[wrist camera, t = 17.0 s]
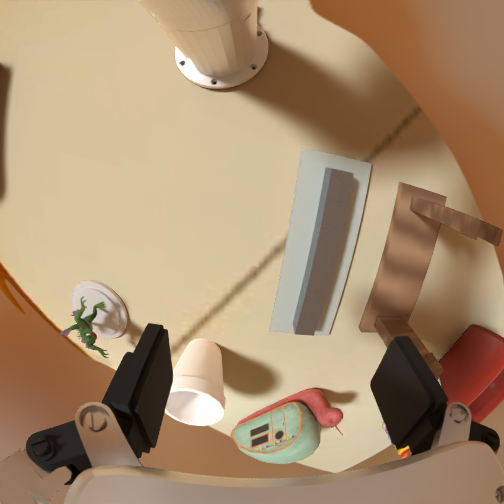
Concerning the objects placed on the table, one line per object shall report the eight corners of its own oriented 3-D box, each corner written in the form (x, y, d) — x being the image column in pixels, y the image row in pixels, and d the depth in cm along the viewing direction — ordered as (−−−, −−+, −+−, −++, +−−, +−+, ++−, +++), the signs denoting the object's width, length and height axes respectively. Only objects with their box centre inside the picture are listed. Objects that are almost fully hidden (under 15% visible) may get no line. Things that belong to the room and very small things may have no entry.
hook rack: (399, 182, 35) (470, 202, 20) (441, 195, 35) (510, 220, 20) (358, 327, 43) (392, 393, 28) (399, 328, 44) (438, 386, 29)
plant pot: (419, 369, 48) (451, 421, 32) (475, 305, 43) (520, 348, 27) (448, 387, 52) (474, 428, 36) (494, 335, 46) (528, 371, 30)
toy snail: (249, 433, 55) (248, 480, 42) (227, 420, 53) (222, 470, 40) (341, 388, 49) (357, 440, 36) (323, 371, 47) (338, 428, 34)
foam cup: (194, 322, 43) (177, 378, 31) (240, 349, 45) (237, 407, 33) (169, 353, 46) (149, 407, 33) (211, 377, 47) (202, 431, 35)
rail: (325, 167, 34) (331, 168, 31) (346, 171, 34) (353, 173, 31) (292, 322, 42) (294, 334, 39) (310, 324, 42) (313, 335, 39)
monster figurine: (136, 336, 45) (115, 374, 35) (87, 334, 45) (63, 366, 35) (115, 277, 41) (85, 309, 31) (65, 281, 41) (33, 308, 31)
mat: (301, 148, 34) (302, 148, 33) (369, 163, 34) (371, 163, 33) (269, 328, 43) (269, 331, 42) (327, 332, 44) (328, 335, 43)
